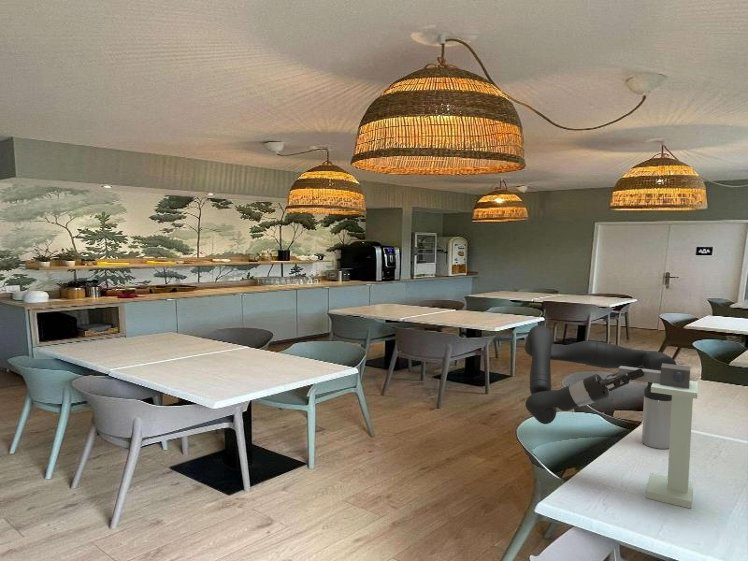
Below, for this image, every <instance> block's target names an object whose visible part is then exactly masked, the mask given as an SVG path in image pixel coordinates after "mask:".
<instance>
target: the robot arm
mask: <svg viewBox="0 0 748 561" xmlns="http://www.w3.org/2000/svg"><path fill="white" fill-rule="evenodd" d="M524 351H525V353H526V354H527V355H529V356H530V357H532V358H531V363H530V364H531V365H530V370H529V391H530V395H529V396H528V397H527V398H526V400H525V404H524V405H525V408H526V409H527V411H528V412H529V414H530V415H532V416H533V417H534V419H535V420H536V421H538V423H540V424H543V425H549V424H551V423H552V422H553V421H554V420H555V419H556V417H557V416H556V415H557V409H559V410H560V411H562V412H568V411H572V410H574V409H578V408H580V407H585V406H588V405H590V404H594V403H596V402H599V401H602V400H604V399H608V398H609V392H613V391H615V390H617V389H618V388H621V387H623V386H626V385H629V384H630V383H632V381H635V380H634V379H637V378H640V377H642V376H644V372H643V370H642V369H650V370H659V371H661V366H662V363H664V364H673V365H678V364H677V362H676V361H675V359H674V358H673V357H671V356H669V355H668V354H666V353H664V352H662V351H657V350H644V349H642V350H641V349H632V348H628V347H624V346H621V345H616V344H612V343H607V342H603V341H598V340H583V341H578V342H575V343H570V344H566V345H565V344H555V343H554V334H553V331H552V330H551V329H549V327H547V326H545V325H540V324H539V325H534V326H533V327H531V328H530V330H529V331H528V333H527V337H526V340H525V344H524ZM551 360H552V361H559V362H560V361H562V362H569V363H574V364H575V363H576V364H580V365H585V366H591V367H596V368H601V369H619V367H620V366H626V367H634V368H642V369H637V370H635V371H632V372H629V374H628V373H625V374H623V375H621V374H618V372H619V371H617V372H615V373H611V374H610V373H609V374H608V375H606V377H605V378H604V379H603V378H602V377H601V376H600V375H599V374H597V373H596V374H593V375H591V376H587V377H585V378H583V379H580V380H578V381H575V382H573V383H572V384H570V385H567V386H564V387H562V388H559V389H553V390H552V376H551V374H552V372H551ZM631 379H632V380H631ZM651 386H652V383H651V382H647V384H646V387H644V390H643V407H642V408H643V409H642V410H643V411H642V428H641V429H642V431H641V433H642V434H641V443H642V444H643V443H644V444H643V445H645V446H647V447H650V448H653V449H659V450H662V449H663V450H664V449H665V450H666V449H669V444H670V425H671V405H672V395H667V394H660V393H653V392H651Z"/></svg>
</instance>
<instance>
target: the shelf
mask: <svg viewBox="0 0 748 561" xmlns="http://www.w3.org/2000/svg"><path fill="white" fill-rule="evenodd" d="M698 386H699V381H695V380H690V384H689V389H688V388H681V387H673V386H666V385H660V384H659V383H652V386H651V392H653V393H660V394H667V395H672V405H671V425H670V444H669V448H668V450H669V451H668V467H667V469H668V470H667V475H663V474H660V473H654V472H650V473H649V477H648V480H647V485H646V489H645V498H646V499H650V500H653V501H657V502H663V503H666V504H670V505H675V506H678V507H679V506H680V507H683V508H686V509H692V503H693V502H692V497H693V481H692V480H690V479H689V476H690V462H691V460H690V459H691V440H692V422H693V419H692V418H693V404H694V403H693V402H694V399H695V400H696V399H698V394H699V393H698V392H699V391H698V389H699V388H698Z"/></svg>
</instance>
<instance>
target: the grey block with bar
mask: <svg viewBox="0 0 748 561" xmlns="http://www.w3.org/2000/svg"><path fill="white" fill-rule="evenodd" d="M637 369H642V368H634V367H626V366H620V367H619V368H618V371H617V372H618V374H621V375H623V374H625V373H628V374H629V372H632V371H635V370H637ZM642 370H643V372H644V376H642V377H640V378H637V379H634V380H632V379H631V380H632V381H638V382H646V383H648V382H651V383H659V384H660V385H666V386H673V387H681V388H688V389H689V384H690V381H691V366H689V365H680V364H677V365H673V364H664V363H662V366H661V371H659V370H650V369H642Z"/></svg>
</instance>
